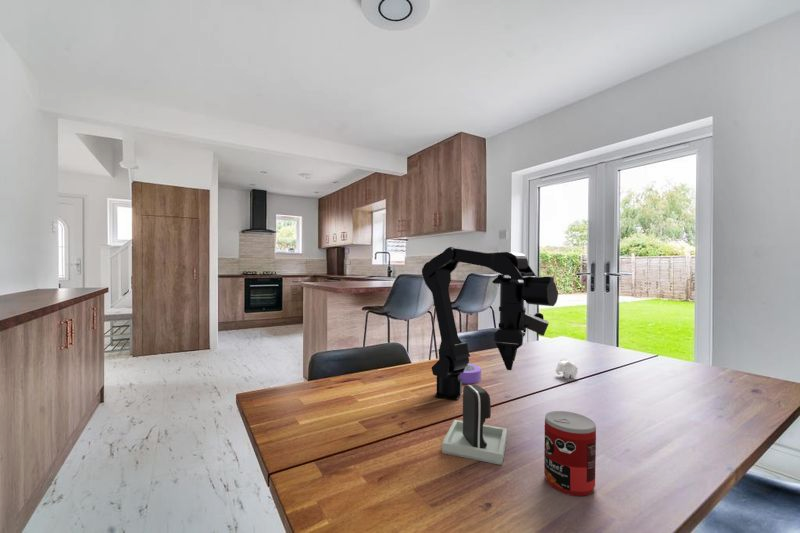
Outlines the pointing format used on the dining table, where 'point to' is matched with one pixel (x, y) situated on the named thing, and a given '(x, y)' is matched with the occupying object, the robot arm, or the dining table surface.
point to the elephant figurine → (566, 369)
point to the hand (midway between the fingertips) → (510, 365)
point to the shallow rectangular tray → (462, 448)
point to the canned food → (570, 452)
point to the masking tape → (471, 374)
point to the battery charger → (475, 414)
